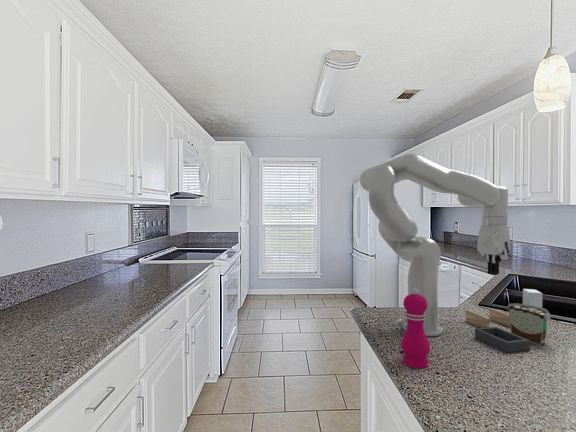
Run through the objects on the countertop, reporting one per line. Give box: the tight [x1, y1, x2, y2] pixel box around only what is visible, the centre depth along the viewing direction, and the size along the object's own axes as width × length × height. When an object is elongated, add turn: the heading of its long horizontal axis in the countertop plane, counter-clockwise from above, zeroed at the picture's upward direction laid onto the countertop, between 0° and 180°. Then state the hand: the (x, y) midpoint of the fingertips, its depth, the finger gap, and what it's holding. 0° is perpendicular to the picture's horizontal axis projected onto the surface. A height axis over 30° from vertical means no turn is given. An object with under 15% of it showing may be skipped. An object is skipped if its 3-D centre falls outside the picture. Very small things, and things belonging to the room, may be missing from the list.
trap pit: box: [474, 326, 531, 354], centre depth 102 cm, size 8×12×3 cm, turn 12°
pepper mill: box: [400, 288, 431, 370], centre depth 89 cm, size 7×7×20 cm
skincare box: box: [522, 288, 543, 308], centre depth 120 cm, size 6×4×12 cm
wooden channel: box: [465, 307, 510, 328], centre depth 120 cm, size 11×10×4 cm
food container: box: [506, 303, 552, 347], centre depth 106 cm, size 12×6×10 cm, turn 20°
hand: (493, 274), depth 118 cm, fingers closed
